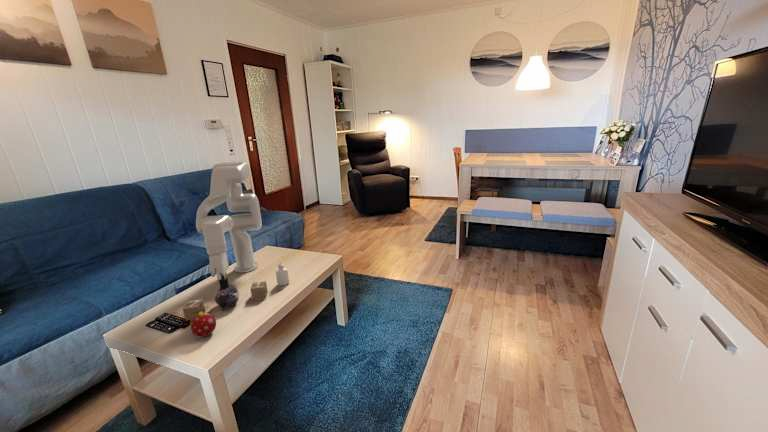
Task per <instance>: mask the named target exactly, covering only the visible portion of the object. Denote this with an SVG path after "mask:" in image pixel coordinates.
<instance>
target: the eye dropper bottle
mask: <svg viewBox="0 0 768 432" xmlns="http://www.w3.org/2000/svg"><path fill="white" fill-rule="evenodd" d="M275 276H276V284H277V286H279V287H280V286H281V287H282V286H286V285H288V284H290V280H289V279H290V278H289V271H288V269H287V268H286V267H285V268H284V264H283V263H282V262H281V261H279V264H278V267H277V269H276V270H275Z"/></svg>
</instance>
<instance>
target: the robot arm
mask: <svg viewBox="0 0 768 432" xmlns="http://www.w3.org/2000/svg"><path fill="white" fill-rule="evenodd" d="M250 175H251V168H250V165H249V163H248V162H245V161H231V162H219V163H216V164H214V165H213V166H212V171H211V178H210V189H209V195H208V196H207V197H206V198H205V199H204V200H203V201H202V202H201V203H200V204H199V206H198V208H197V210H196V217H195V228H196V231H197V232H198V233H199V234H203V237H204V238H203V239H204V242H205V243H204V244H205V248H206V253H207V255H208V257H209V258H208V259H209V268H210V273H211V277H212V278H214V277H215V276H216V279H217V281H218V284H219V288H228V286H229V285H230V283H229V278H228V273H227V271H228V269H229V267H230V266H229V265H230V264H229V260H228V255H227V252H228V247H227V243H226V238H225V233H228V232H229V235H230V239H231V243H232V248H233V253H234V254H233V255H234V259H235V263H236V265H235V266H234V268H233V270H234V272H236V273H239V274H240V273H241V274H243V273H248V272H252V271H254V270H255V269H257V268H258V267H259V263H258V262H257V261H256V260H255V256H254V250H253V244H252V238H251V235H249V233H248V232H251V231H252V232H253V231H258V230H260V229H261V228H262V227H263V226H262V215H261V214H262V213H261V208H260V201H259V199H258V196H257V195H256V194H254V193H243V188H242V184H243V183H245V182H246V181H247V180H248V178H249V177H250ZM224 203H226V207H227V210H228V211H229V212H230V213H237V214H233V215H226V214H219V215H208V213H210V212H211V210H213V209H215V208H216V207H218V206H221V205H222V204H224ZM241 212H250V213H241ZM238 213H239V214H238Z"/></svg>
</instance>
